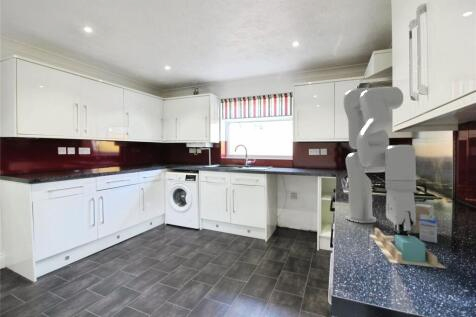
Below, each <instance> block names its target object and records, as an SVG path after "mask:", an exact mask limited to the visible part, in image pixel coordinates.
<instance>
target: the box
mask: <svg viewBox="0 0 476 317" xmlns="http://www.w3.org/2000/svg"><path fill="white" fill-rule="evenodd" d="M434 212H435V205H432V204H431V205H430V204H421V203H415V213H416V221H415V225H414V226H412V227H413V228H412V230H413V231H412V233H413V234H420V225H419V219H420V214H426V215H432V216H435V213H434Z"/></svg>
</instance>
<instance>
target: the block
mask: <svg viewBox="0 0 476 317" xmlns="http://www.w3.org/2000/svg"><path fill="white" fill-rule="evenodd" d="M394 246H395V247H396V248H397V249H398V250H399V251H400V252H401V253H402V260H403V261H413V262H423V263H425V248H426V243H425V242H424V241H423V240H420V238H418V237H416V236H415V235H410V236H405V235H395V243H394Z"/></svg>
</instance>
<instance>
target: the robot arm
mask: <svg viewBox="0 0 476 317" xmlns="http://www.w3.org/2000/svg"><path fill="white" fill-rule="evenodd" d="M403 102H404V92H403V91H402V89H400V88H399V87H397V86H377V87H364V88H354V89H350V90H348V91H347V92H345V94H344V96H343V108H344V112H345V115H346V117H347V126H348V132H347V133H348V144H349V147H350V148H352V149H354V150H357V151H355V152H351V153H348V154H347V156H346V158H345V166H346V170H347V171H346V172H347V182H348V183H347V184H348V214H346V215H345V219H346V220H347V219H348V220H347V221H349V220H350V222H353V221H354V222H353V223H358V222H359V223H360V224H373V223H376V222H377V218H376V217H375V216H373V191H372V190H373V189H372V188H373V186H372V185H373V184H372V181H371V179H370V178H369V176H367V174H368V173H384V174H385V175H384V178H385V190H386V198H385V201H386V202H385V217H386V219H387V220H389V221H390V222H391V223H392V224H393V231H394V232H393V236H394V241H393V243H394V244H395V235H405V236H408V234H409V235H410V232H411V231H412V228H411V227H413V226H414V225H415V221H416V213H415V204H416V203H415V202H416V201H415V194H414V193H415V192H417V181H416V180H417V177H416V176H417V173H416V172H417V171H416V170H417V169H416V167H417V166H416V148H415V147H414V146H413V145H411V144H397V145H396V144H395V145H394V144H392V145H390V137H389V133H388V131H387V130H386V129H387V128H388V127H389V126H390V125H392V122H393V121H392V120H393V118H392V116H391V112H390V110H396V109H399V108H400V107H401V106H402V105H403ZM366 173H367V174H366Z"/></svg>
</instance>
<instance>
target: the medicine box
mask: <svg viewBox="0 0 476 317" xmlns="http://www.w3.org/2000/svg"><path fill="white" fill-rule="evenodd" d="M436 218H437V216H435V215H434V216H432V215H426V214H420V219H419V225H420V233H419V240H420V241H423V242H429V243H435V244H437V243H438V223H437V219H436Z"/></svg>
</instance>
